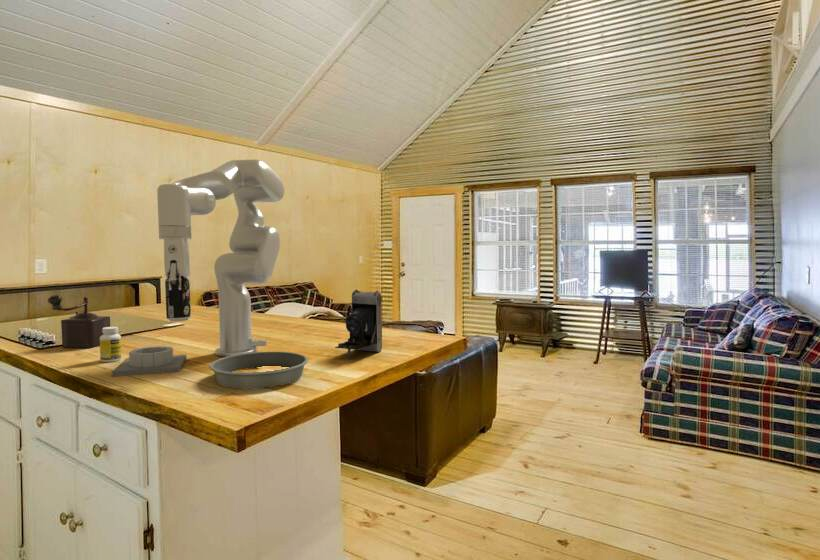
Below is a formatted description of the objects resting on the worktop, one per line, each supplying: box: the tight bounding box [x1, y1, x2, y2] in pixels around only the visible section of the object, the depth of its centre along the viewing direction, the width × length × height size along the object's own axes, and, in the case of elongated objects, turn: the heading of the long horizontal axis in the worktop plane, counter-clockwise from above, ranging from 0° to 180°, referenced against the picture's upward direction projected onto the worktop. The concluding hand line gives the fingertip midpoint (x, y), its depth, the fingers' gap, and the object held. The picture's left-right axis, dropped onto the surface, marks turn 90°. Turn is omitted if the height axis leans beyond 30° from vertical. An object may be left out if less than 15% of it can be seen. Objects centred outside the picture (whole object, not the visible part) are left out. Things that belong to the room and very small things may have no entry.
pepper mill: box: [47, 294, 111, 349], centre depth 166 cm, size 16×11×18 cm
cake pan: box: [208, 351, 309, 389], centre depth 129 cm, size 25×25×4 cm
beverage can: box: [164, 276, 192, 322], centre depth 129 cm, size 6×6×12 cm
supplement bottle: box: [99, 326, 123, 363], centre depth 147 cm, size 5×5×10 cm
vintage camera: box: [334, 289, 383, 360], centre depth 155 cm, size 10×16×20 cm, turn 158°
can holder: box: [111, 345, 188, 377], centre depth 140 cm, size 16×16×5 cm
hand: (177, 303), depth 128 cm, fingers closed on beverage can, 4 cm apart
